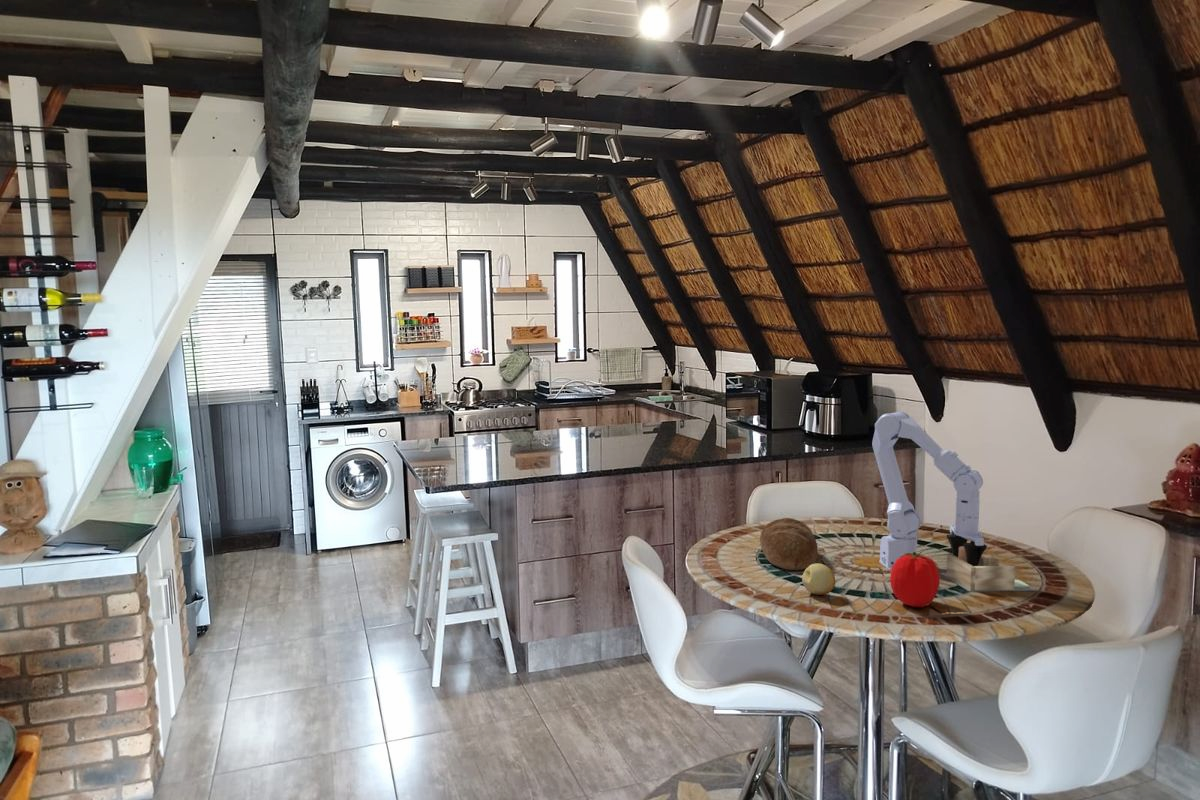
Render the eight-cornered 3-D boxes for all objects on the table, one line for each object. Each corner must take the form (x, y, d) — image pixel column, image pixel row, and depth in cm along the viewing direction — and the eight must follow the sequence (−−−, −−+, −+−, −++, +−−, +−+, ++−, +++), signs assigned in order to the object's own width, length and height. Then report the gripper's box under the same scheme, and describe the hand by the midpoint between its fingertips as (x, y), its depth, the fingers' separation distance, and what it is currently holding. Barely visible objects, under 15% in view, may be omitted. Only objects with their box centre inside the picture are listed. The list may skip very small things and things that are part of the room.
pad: (1010, 587, 214) (1010, 586, 214) (1000, 581, 219) (1000, 580, 219) (1029, 587, 214) (1029, 585, 214) (1018, 581, 219) (1018, 579, 219)
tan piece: (970, 590, 212) (971, 567, 211) (946, 575, 224) (947, 553, 224) (1014, 589, 212) (1015, 567, 212) (987, 574, 225) (988, 553, 225)
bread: (806, 545, 258) (807, 510, 257) (824, 573, 228) (825, 533, 227) (755, 544, 259) (756, 509, 258) (767, 572, 230) (768, 532, 229)
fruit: (803, 588, 215) (804, 558, 214) (836, 592, 212) (837, 561, 211) (799, 597, 208) (800, 566, 207) (833, 601, 205) (834, 569, 204)
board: (968, 593, 211) (969, 591, 211) (939, 574, 227) (939, 572, 227) (1036, 592, 212) (1036, 590, 212) (1002, 573, 228) (1002, 571, 228)
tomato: (901, 614, 196) (903, 559, 194) (881, 597, 208) (882, 545, 207) (949, 613, 196) (951, 559, 195) (926, 596, 208) (928, 545, 207)
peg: (961, 578, 221) (962, 549, 221) (955, 575, 225) (956, 546, 224) (974, 578, 222) (975, 549, 221) (967, 574, 225) (968, 546, 224)
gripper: (996, 521, 215) (993, 572, 216) (968, 509, 229) (966, 557, 230) (969, 522, 214) (967, 573, 215) (943, 509, 229) (941, 557, 230)
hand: (965, 565), depth 223 cm, fingers open, 7 cm apart
